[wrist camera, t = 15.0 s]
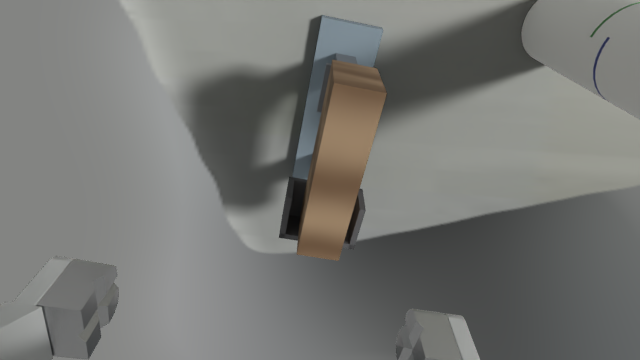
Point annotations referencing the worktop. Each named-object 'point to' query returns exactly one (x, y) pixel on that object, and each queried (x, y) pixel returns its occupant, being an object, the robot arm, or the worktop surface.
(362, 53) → the stand
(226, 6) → the worktop surface
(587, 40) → the cylindrical container
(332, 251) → the rail
